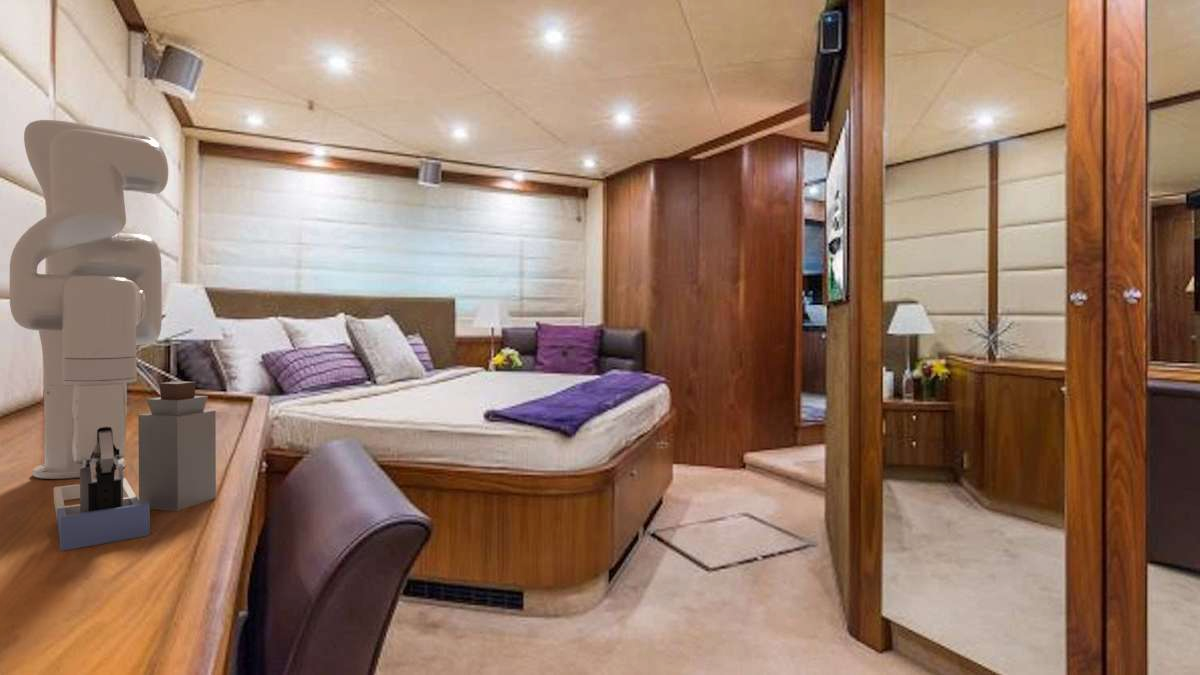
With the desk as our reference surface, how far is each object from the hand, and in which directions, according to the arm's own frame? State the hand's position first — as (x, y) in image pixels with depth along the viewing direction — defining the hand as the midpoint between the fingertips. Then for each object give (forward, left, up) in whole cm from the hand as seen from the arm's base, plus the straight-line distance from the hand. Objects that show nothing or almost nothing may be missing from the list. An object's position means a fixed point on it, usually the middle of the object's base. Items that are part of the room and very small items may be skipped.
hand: (101, 504), depth 82 cm
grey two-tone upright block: (0, 0, -3) cm, 3 cm away
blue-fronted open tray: (-6, 0, -3) cm, 7 cm away
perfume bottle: (-7, +10, -3) cm, 13 cm away
